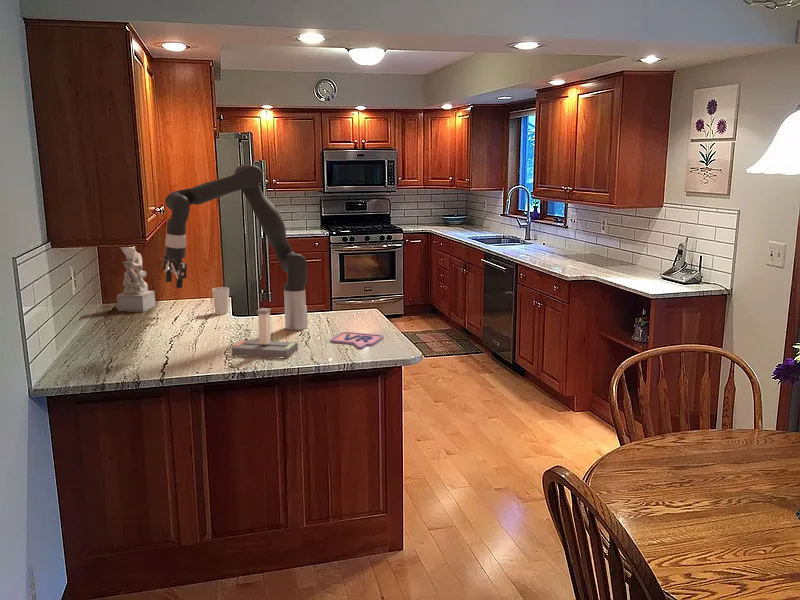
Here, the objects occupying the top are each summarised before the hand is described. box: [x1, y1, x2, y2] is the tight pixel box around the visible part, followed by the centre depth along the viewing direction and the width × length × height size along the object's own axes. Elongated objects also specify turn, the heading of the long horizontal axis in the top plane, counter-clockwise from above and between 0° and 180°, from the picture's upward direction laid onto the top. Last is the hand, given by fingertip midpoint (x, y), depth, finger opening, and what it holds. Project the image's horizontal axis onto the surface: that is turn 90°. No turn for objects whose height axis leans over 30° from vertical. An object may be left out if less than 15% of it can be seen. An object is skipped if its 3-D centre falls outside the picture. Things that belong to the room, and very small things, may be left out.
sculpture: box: [116, 246, 156, 313], centre depth 330 cm, size 13×13×35 cm
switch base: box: [231, 339, 299, 359], centre depth 257 cm, size 12×22×3 cm, turn 79°
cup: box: [211, 286, 230, 315], centre depth 323 cm, size 8×8×12 cm
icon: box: [329, 331, 384, 350], centre depth 273 cm, size 19×2×20 cm
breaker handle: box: [256, 307, 272, 345], centre depth 255 cm, size 5×4×13 cm
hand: (173, 284), depth 264 cm, fingers open, 8 cm apart
